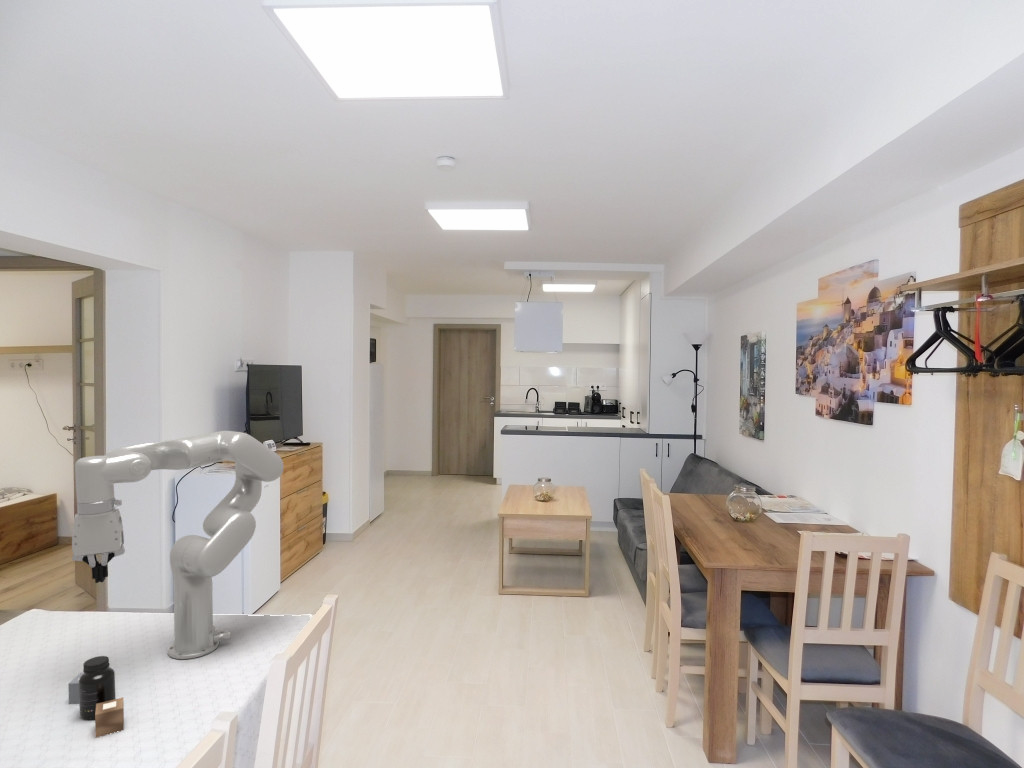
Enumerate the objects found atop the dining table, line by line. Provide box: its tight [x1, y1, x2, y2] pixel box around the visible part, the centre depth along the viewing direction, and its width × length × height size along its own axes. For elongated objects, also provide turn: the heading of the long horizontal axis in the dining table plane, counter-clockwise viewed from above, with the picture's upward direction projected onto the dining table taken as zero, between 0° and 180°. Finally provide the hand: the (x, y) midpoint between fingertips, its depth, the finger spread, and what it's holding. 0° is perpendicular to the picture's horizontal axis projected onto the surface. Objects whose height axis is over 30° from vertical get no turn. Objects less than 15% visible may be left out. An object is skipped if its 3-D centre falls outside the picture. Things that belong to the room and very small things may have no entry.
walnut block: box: [94, 697, 125, 738], centre depth 132 cm, size 5×5×5 cm
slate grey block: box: [67, 672, 84, 705], centre depth 144 cm, size 5×5×5 cm
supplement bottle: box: [78, 655, 117, 721], centre depth 138 cm, size 7×7×12 cm
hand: (100, 580), depth 148 cm, fingers closed
